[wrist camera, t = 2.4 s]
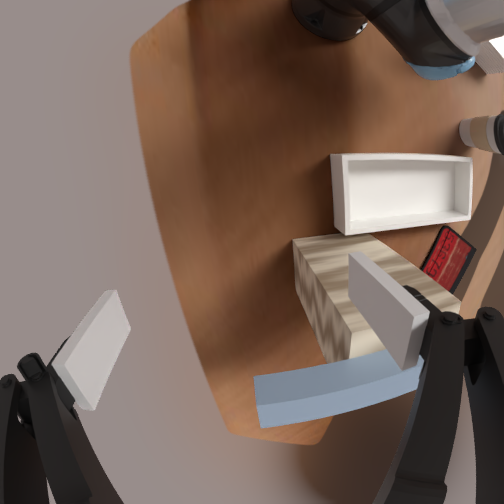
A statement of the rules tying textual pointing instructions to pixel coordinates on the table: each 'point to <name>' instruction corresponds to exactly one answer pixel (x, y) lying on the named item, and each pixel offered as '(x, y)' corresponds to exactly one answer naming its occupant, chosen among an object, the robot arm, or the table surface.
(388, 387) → the block
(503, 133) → the coffee cup
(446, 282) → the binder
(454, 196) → the tray
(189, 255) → the table surface
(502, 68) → the stack of papers
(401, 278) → the beige tall box
